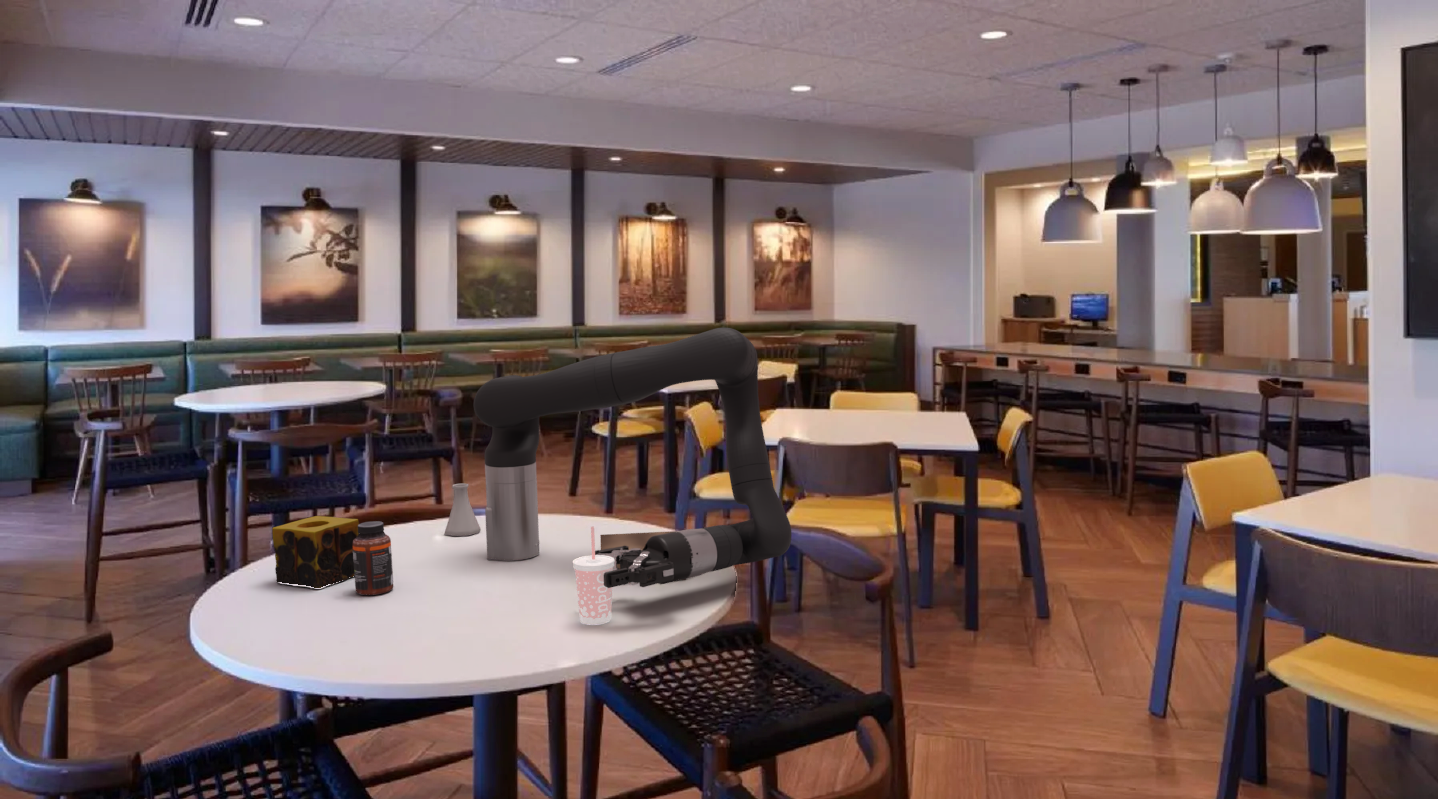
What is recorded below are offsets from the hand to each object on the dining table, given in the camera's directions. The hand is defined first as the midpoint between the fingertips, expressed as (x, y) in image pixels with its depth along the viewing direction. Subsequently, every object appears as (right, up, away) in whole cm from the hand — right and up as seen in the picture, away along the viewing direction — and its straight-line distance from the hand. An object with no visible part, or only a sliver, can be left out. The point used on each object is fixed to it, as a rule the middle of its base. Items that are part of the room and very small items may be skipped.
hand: (590, 574), depth 145 cm
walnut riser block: (+6, -4, +27) cm, 28 cm away
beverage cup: (+1, -7, +1) cm, 7 cm away
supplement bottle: (-38, -6, +18) cm, 42 cm away
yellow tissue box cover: (-50, -6, +25) cm, 56 cm away
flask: (-33, -2, +57) cm, 66 cm away
